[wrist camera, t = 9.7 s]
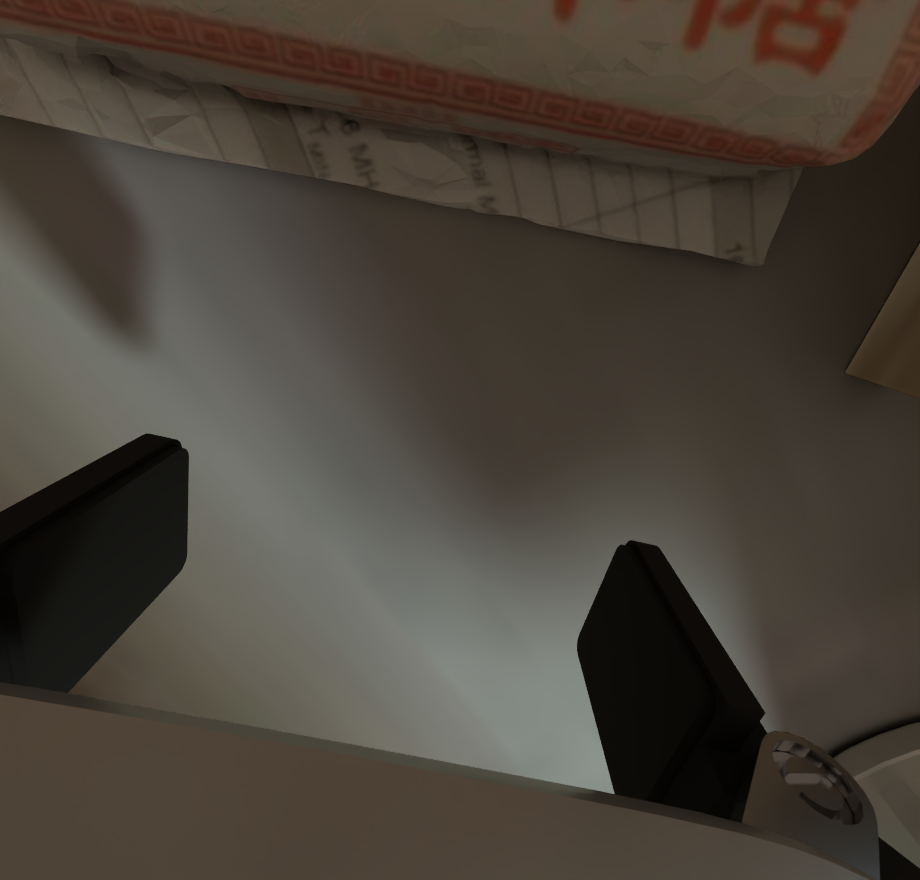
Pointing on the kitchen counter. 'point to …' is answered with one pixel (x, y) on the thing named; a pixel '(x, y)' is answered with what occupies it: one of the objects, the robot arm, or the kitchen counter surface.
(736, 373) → the kitchen counter surface
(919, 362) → the wooden frame
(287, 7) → the packaged product
